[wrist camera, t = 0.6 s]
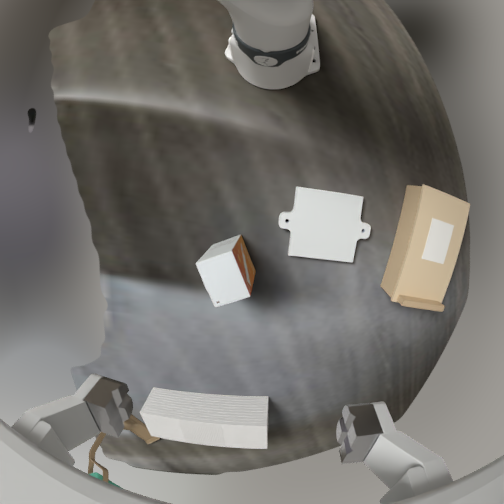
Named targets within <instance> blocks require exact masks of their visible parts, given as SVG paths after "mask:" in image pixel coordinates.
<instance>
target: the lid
mask: <svg viewBox="0 0 504 504" xmlns="http://www.w3.org/2000/svg"><path fill="white" fill-rule="evenodd" d="M469 209H470V204H469V203H467V202H465V201H463V200H460V199H458V198H456V197H454V196H451V195H449V194H447V193H444V192H442V191H439V190H437V189H434V188H432V187H429V186H427V185H424V184H422V189H421V194H420V199H419V204H418V208H417V213H416V217H415V221H414V225H413V229H412V233H411V237H410V241H409V244H408V248H407V251H406V255H405V258H404V262H403V265H402V268H401V271H400V274H399V277H398V280H397V283H396V286H395V289H394V292H393V295H392V298H391V301H393V302H399V303H400V304H401V305H402V306H406V307H413V308H420V309H426V310H433V311H440V312H443V310H444V307H445V306H444V305H442V304H441V303H442V301H443V298H444V295H445V293H446V290H447V287H448V284H449V282H450V279H451V276H452V273H453V270H454V267H455V263H456V260H457V257H458V253H459V250H460V246H461V243H462V239H463V235H464V231H465V227H466V223H467V218H468V213H469Z"/></svg>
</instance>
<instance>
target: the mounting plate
mask: <svg viewBox="0 0 504 504" xmlns="http://www.w3.org/2000/svg"><path fill="white" fill-rule="evenodd" d="M362 204H363V197H362V196H356V195H350V194H344V193H338V192H331V191H324V190H318V189H310V188H303V187H296V191H295V200H294V208H293V210H292V211H291V212H282V213H280V215H279V226H280V227H281V228H283V229H288V230H289V231H290V241H289V248H288V255H290V256H299V257H308V258H317V259H326V260H335V261H344V262H353V258H354V253H355V248H356V242H357V240H358V239H361V238H362V239H367V238H368V237H369V235H370V230H371V227H370V225H369V224H367V223H365V222H362V221H361V219H360V218H361V211H362ZM286 219H288V222H286V221H285V220H286ZM362 229H363V230H362Z"/></svg>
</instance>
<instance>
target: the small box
mask: <svg viewBox="0 0 504 504" xmlns="http://www.w3.org/2000/svg"><path fill="white" fill-rule="evenodd" d="M196 266H197V268H198V271H199V273H200V275H201V278H202V280H203V283H204V285H205V288H206V290H207V292H208V293H209V295H210V297H211V300H212V302H213V304H214V306H215V307H219V306H222V305H225V304H229V303H232V302H235V301H238V300H241V299H245V298H248V297H250V296H251V291H252V287H253V282H254V277H255V272H256V270H255V268H254V266H253V263H252V261H251V259H250V256H249V254H248V251H247V248H246V246H245V243H244V240H243V238H242V235H238V236H235V237H233V238H230V239H227V240H224V241H222V242H219V243H216V244H213V245H212V246H211V247H210V248H209V249H208V250H207V251H206V253H205V254H204V255H203V256H202V257H201V258H200V259H199V260H198V261H197V262H196Z"/></svg>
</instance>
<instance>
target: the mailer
mask: <svg viewBox="0 0 504 504" xmlns="http://www.w3.org/2000/svg"><path fill="white" fill-rule="evenodd" d="M421 189H422V187H421V186H412V185H407V187H406V192H405V197H404V202H403V207H402V211H401V215H400V220H399V224H398V228H397V232H396V236H395V239H394V243H393V247H392V250H391V254H390V257H389V260H388V264H387V267H386V270H385V273H384V277H383V280H382V283H381V287H382V288H383V289H384V290H385V291H386V293H387V294H388V295H389V296H390V297H392V295H393V292H394V289H395V286H396V283H397V280H398V277H399V274H400V271H401V268H402V265H403V262H404V258H405V255H406V251H407V248H408V244H409V241H410V237H411V233H412V229H413V225H414V221H415V217H416V213H417V208H418V204H419V199H420V194H421Z"/></svg>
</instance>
